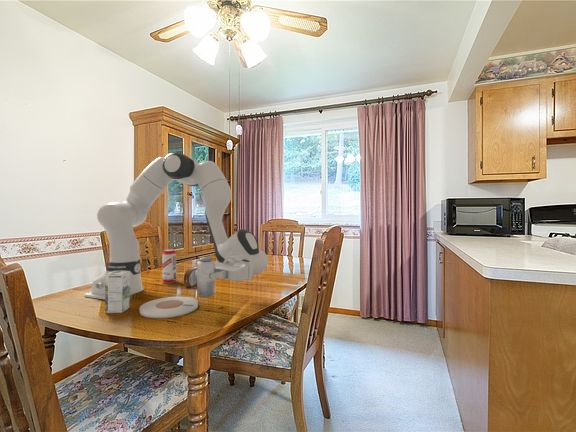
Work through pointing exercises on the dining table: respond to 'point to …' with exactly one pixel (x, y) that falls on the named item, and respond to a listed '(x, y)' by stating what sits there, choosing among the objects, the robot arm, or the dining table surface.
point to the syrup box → (117, 291)
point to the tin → (190, 277)
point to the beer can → (169, 266)
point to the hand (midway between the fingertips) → (203, 274)
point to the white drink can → (205, 277)
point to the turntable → (168, 307)
